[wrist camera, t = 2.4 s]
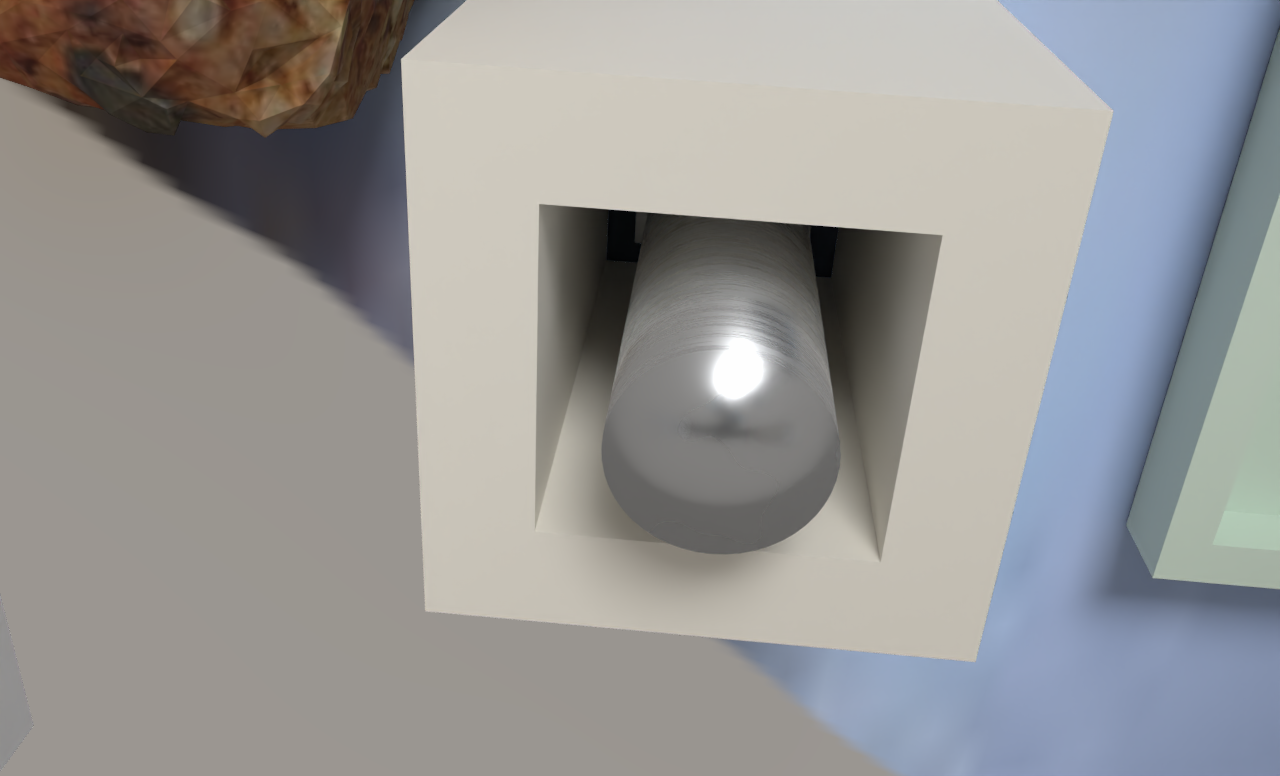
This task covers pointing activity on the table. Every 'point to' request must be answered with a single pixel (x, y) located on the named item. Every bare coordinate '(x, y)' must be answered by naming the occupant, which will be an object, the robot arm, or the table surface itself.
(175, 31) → the bread
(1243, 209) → the tray
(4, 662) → the robot arm
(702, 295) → the grey metal cylinder
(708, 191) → the hollow block
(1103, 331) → the table surface
